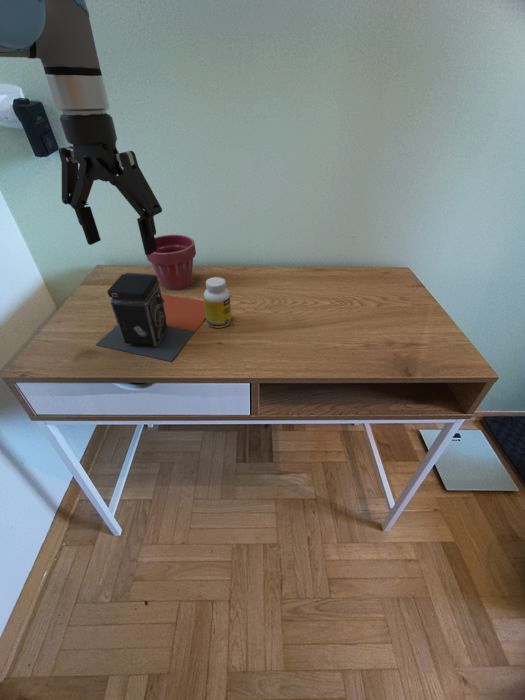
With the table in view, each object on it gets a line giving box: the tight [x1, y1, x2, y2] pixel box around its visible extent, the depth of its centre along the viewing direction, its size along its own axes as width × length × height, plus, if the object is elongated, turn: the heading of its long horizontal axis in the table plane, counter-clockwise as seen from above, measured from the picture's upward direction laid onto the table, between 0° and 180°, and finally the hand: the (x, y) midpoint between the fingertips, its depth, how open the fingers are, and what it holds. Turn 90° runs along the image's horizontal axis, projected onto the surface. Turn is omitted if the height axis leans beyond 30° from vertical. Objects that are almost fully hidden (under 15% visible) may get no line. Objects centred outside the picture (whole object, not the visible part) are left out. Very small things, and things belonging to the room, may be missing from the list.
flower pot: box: [145, 234, 197, 291], centre depth 96 cm, size 14×14×13 cm
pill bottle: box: [203, 276, 232, 329], centre depth 80 cm, size 6×6×12 cm
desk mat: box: [95, 293, 206, 363], centre depth 83 cm, size 20×26×1 cm
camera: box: [106, 272, 168, 347], centre depth 74 cm, size 10×10×15 cm
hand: (122, 247), depth 63 cm, fingers open, 13 cm apart
